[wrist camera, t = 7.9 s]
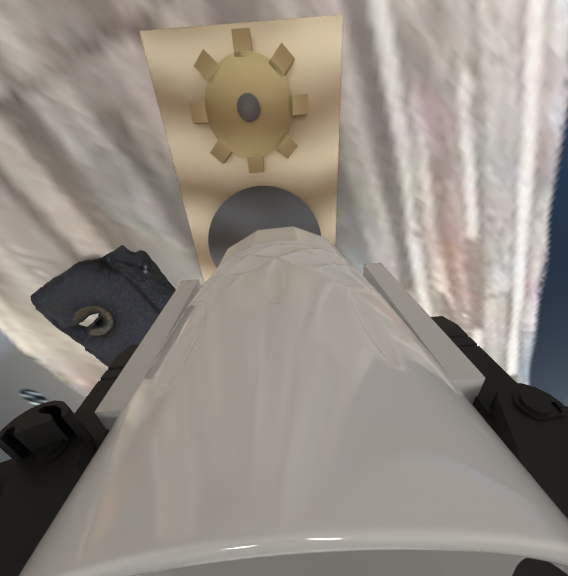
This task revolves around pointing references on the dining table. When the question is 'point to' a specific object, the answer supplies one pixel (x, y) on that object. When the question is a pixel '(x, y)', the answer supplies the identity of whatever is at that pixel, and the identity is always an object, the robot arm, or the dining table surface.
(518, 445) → the robot arm
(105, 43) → the dining table surface
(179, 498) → the white cup
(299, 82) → the gear board
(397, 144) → the dining table surface
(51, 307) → the dark slate chunk
